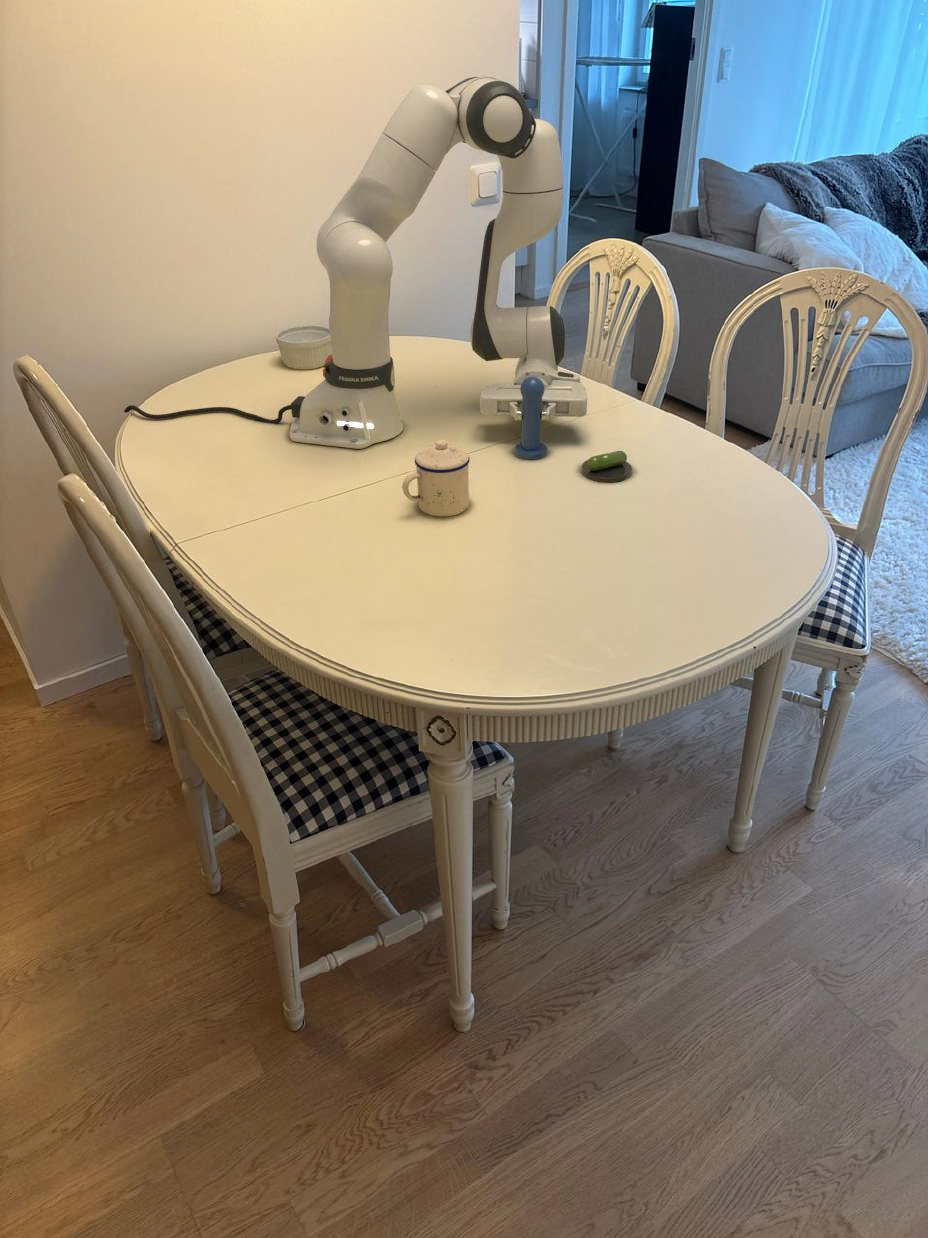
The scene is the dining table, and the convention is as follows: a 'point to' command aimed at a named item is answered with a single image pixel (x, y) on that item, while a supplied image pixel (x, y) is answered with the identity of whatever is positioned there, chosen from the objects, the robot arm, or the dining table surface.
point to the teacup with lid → (440, 480)
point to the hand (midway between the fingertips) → (531, 417)
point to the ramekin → (304, 346)
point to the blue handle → (531, 420)
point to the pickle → (607, 467)
